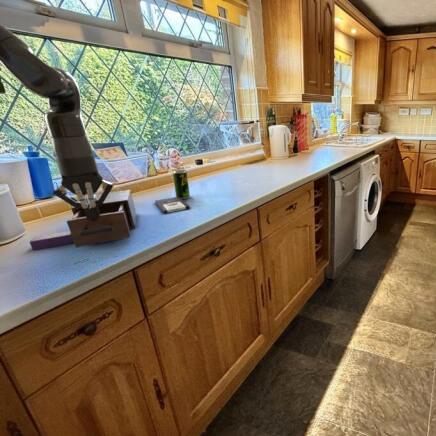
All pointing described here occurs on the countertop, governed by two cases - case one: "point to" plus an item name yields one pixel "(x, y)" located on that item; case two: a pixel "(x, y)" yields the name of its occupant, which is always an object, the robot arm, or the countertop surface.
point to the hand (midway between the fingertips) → (94, 220)
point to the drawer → (100, 225)
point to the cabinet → (117, 199)
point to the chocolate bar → (171, 204)
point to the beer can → (181, 183)
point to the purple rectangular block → (51, 240)
